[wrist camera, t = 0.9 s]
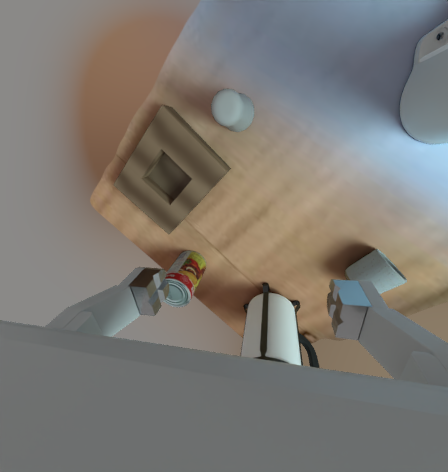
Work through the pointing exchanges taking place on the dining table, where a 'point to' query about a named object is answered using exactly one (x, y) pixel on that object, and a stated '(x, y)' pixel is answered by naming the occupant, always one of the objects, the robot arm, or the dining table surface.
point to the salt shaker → (232, 110)
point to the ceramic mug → (376, 271)
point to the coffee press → (274, 330)
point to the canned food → (184, 278)
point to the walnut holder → (170, 170)
